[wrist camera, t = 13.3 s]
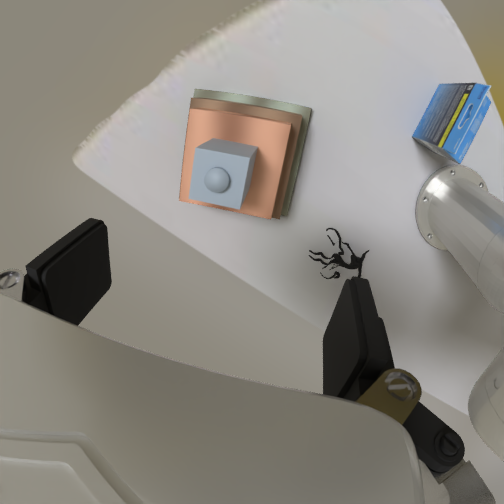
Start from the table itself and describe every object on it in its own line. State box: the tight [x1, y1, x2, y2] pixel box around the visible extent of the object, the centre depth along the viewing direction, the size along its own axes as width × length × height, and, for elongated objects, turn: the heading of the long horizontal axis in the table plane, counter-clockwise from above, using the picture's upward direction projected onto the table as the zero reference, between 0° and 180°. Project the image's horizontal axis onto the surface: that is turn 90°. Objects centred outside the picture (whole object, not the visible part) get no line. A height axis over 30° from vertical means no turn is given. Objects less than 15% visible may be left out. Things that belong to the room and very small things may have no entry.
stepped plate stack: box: [179, 89, 311, 219], centre depth 34 cm, size 14×14×8 cm
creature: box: [309, 228, 370, 279], centre depth 40 cm, size 8×5×8 cm
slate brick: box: [189, 138, 258, 210], centre depth 27 cm, size 4×4×7 cm
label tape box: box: [412, 83, 491, 164], centre depth 26 cm, size 9×4×12 cm, turn 155°
